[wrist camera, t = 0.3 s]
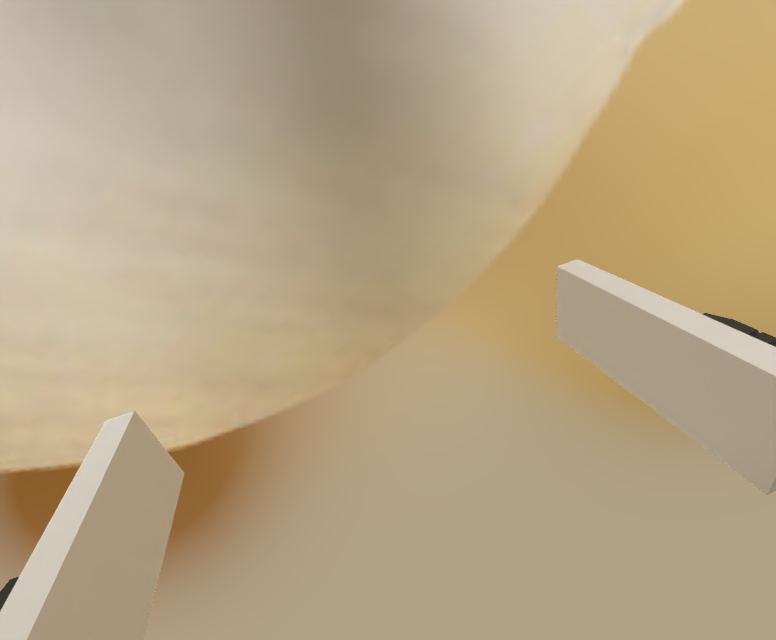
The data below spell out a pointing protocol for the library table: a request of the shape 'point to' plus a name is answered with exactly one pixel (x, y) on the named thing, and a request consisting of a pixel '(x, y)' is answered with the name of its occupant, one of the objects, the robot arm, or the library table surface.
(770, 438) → the robot arm
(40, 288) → the library table surface
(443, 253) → the library table surface
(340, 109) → the library table surface
